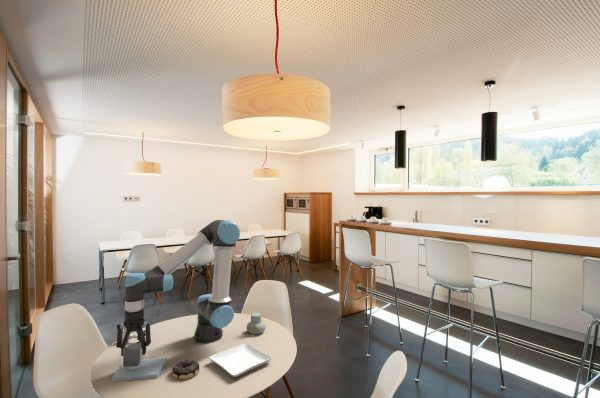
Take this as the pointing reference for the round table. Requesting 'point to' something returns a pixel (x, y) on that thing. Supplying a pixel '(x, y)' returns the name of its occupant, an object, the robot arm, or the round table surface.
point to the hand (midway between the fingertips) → (133, 362)
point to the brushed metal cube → (132, 355)
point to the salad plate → (240, 359)
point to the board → (141, 370)
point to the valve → (132, 335)
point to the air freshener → (256, 324)
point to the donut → (185, 369)
